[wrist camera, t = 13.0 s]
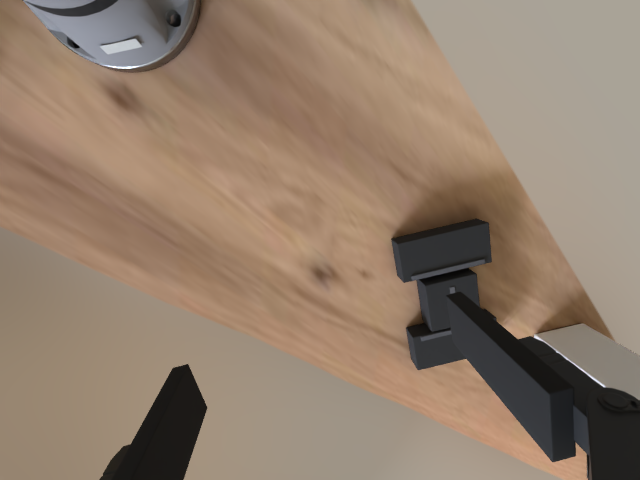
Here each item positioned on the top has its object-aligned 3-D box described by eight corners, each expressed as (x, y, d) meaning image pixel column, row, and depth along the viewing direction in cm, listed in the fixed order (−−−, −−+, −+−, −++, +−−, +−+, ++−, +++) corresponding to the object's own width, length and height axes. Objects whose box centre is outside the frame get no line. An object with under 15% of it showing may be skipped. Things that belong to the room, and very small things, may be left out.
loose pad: (415, 276, 41) (425, 286, 38) (464, 265, 41) (477, 273, 38) (422, 320, 43) (431, 332, 40) (468, 309, 43) (481, 320, 40)
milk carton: (582, 321, 45) (782, 436, 26) (581, 364, 46) (768, 499, 28) (533, 333, 44) (700, 456, 26) (534, 375, 46) (692, 518, 28)
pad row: (391, 238, 39) (398, 244, 37) (477, 218, 40) (489, 222, 37) (411, 358, 44) (418, 371, 41) (488, 340, 44) (500, 351, 42)
